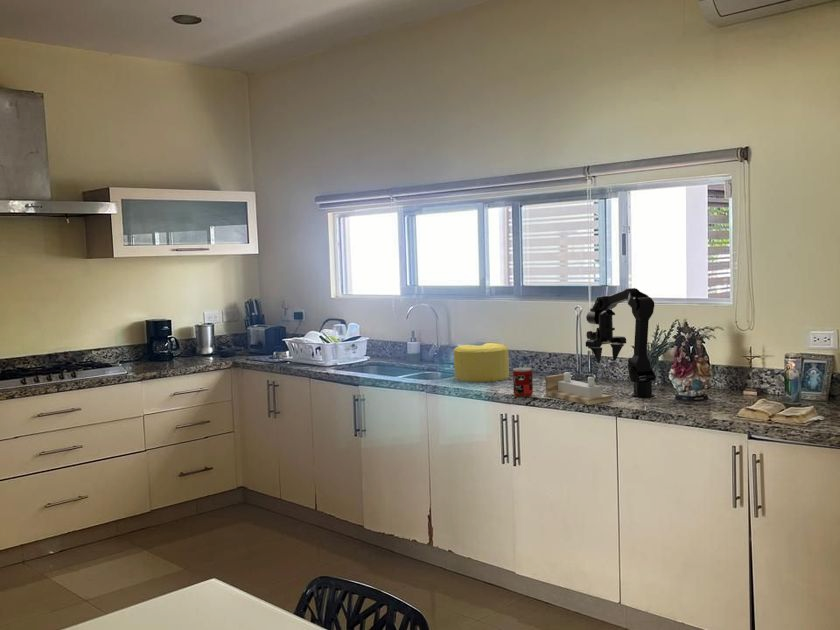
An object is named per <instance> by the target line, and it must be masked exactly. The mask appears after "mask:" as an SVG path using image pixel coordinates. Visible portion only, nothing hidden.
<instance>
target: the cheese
mask: <svg viewBox="0 0 840 630" xmlns="http://www.w3.org/2000/svg"><path fill="white" fill-rule="evenodd" d="M509 358H510V357H509V347H508V346H507V345H505V344H502V343H491V342H489V343H488V342H487V343H484V344H481V345H475V344H474V345H472V344H461V345H459V346H456V347H455V348H454V349H453V361H454V362H453V365H454V367H453V369H454V379H455V380H457V381H461V382H475V383H476V382H496V381H501V380H506V379H508V378H509V377H510V363H509V362H510V361H509V360H510V359H509Z"/></svg>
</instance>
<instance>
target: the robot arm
mask: <svg viewBox="0 0 840 630" xmlns="http://www.w3.org/2000/svg"><path fill="white" fill-rule="evenodd" d="M626 301H627V305H628V306H629V307H630V308H631V313H632V315H633V317H634V320H635V327H634V347H633V355H632V357H629V358H628V360H627V370H628V371H627V372H628V376H629V379H630V382H631V383H633V394H631V396H632V397H635V398H640V399H646V398H647V399H648V398H652V397H655V394H653V393H652V391H653V389H652V388H653V387H652V381H653V382H654V381H656V379H657V375H656V374H655V371H654V370H653V369H652V366H651V361H650V358H649V356H648V339H649V323H650V322H649V320H650V319H651V317H652V315H653V314H654V311H655V310H654V309H655V301H654V300H653V298H652V297H650V296H649V295H648V294H646V293H644V292H641V291H640V290H639V289H638V288H636V287H633V288H632V287H631V288H629V287H628V288H625V289H624V290H622V291H618V292H617V293H613V294H611V295H603V296H597V297H596V300H595V301H594V304H593V306H592V307H591V308H589V311H588V312H587V314H586V318H585V319H586V321H587V322H588V323H589V324H592V325H598V327H596V330H595V331H592V330H588V331H586V335H585V336H586V339H587V340H586V341H585V347H586V348H588V349H590V351H592V354H593V355H594V357H595V360H596V362H597V364H600V362H601V360H602V352H603V347H602V345H607V344H608V345H609V344H610V347H611V349H612V350H611V352H612V361H615V362H616V361H617V358H618V356H619V354H620V352H621V351H622V348H623V347H624V346H625V344H627V338H626V337H625V336H619V335H615V336H614V331H615V330H616V328H615V327H613V326H614V325H613V320H614V319H613V316H616V313H615V311H613V309H614V308H616V307H617V306H618V304H620V303H623V302H626Z"/></svg>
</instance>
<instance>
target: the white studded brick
mask: <svg viewBox="0 0 840 630" xmlns="http://www.w3.org/2000/svg"><path fill="white" fill-rule="evenodd" d="M563 374H564V381H558V391H561V392H565V393H569V394H573V395H578V396H582V397H586V398H594V397H601V396H602V394H603V393H602V385H598V384H597V385H596V383H595V382H596V381H595V380H596V379H595V377H594V376H588V377H587V382H583V381H577V380H572V379H571V377H572V376H571V372H570V371H569V372H568V371H567V372H563Z"/></svg>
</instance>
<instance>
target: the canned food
mask: <svg viewBox="0 0 840 630" xmlns="http://www.w3.org/2000/svg"><path fill="white" fill-rule="evenodd" d="M512 383H513V384H512V385H513V386H512V387H513V394H514V396H515V397H530V396H533V392H534V390H533V389H534V388H533V387H534V385H533V384H534V383H533V368H532V367H525V366H523V367H514V368H512Z"/></svg>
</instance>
